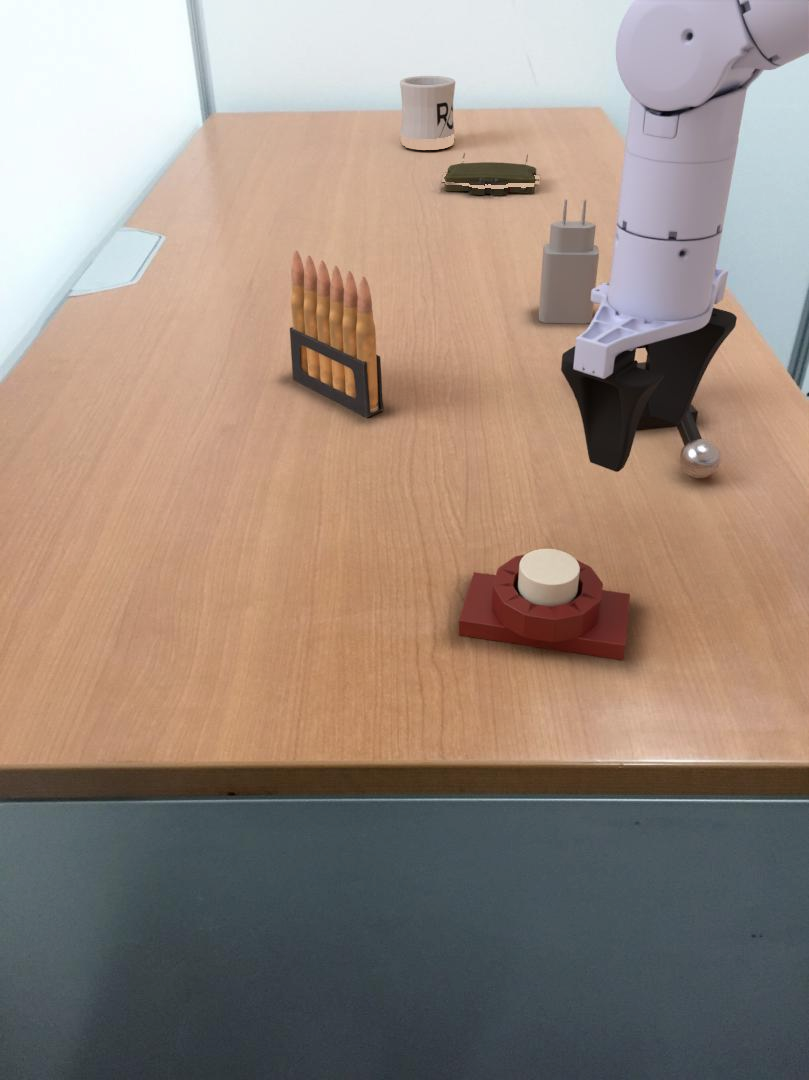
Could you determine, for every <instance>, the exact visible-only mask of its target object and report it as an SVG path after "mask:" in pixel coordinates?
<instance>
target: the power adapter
mask: <svg viewBox="0 0 809 1080" xmlns="http://www.w3.org/2000/svg"><path fill="white" fill-rule="evenodd" d="M567 207H568V199H566V198H565V199H564V201H563V211H562V220H560V221H555V222H552V223H551V224H550V229H549V241H548V242H549V243H546V244H544V245H543V248H542V259H541V260H542V261H541V272H540V273H541V274H540V286H539V287H540V288H539V301H538V320H539V322H540V323H545V324H582V325H583V324H585V325H586V324H591V322H592V320H593V317H594V316H593V314H594V307H595V305H594V304H595V303H594V302H592V301H591V291H592V289H594V288H595V287H597V277H598V269H599V268H598V267H599V261H600V260H599V258H600V250H599V246H598V245H596V244H595V237H596V227H597V225H596V224H595V223H592V222H589V221H586V213H587V212H586V211H587V199H583V204H582V211H581V221H579V220H578V221H572V220H567V213H568V211H567Z"/></svg>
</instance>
